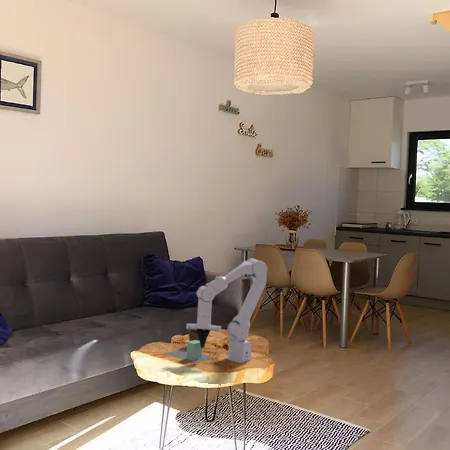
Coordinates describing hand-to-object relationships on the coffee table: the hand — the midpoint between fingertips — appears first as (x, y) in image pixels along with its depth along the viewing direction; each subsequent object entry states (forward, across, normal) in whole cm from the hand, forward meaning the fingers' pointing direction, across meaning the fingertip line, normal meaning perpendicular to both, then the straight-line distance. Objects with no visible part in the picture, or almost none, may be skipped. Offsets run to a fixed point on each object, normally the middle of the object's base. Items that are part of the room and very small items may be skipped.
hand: (202, 347), depth 228 cm
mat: (+6, +7, -5) cm, 11 cm away
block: (+6, +4, -2) cm, 7 cm away
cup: (+6, +7, -21) cm, 23 cm away
